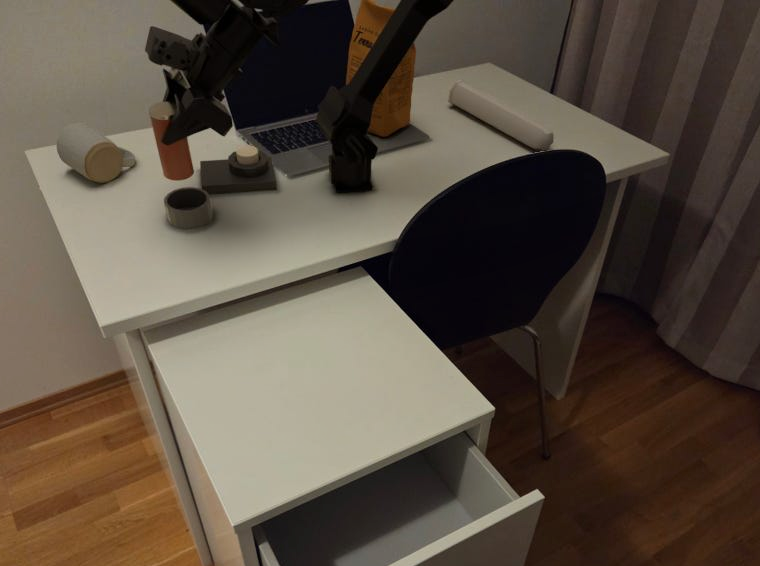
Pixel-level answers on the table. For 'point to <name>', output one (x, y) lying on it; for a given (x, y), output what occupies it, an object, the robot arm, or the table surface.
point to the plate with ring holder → (237, 175)
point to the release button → (247, 155)
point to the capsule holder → (188, 208)
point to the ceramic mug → (92, 153)
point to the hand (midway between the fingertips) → (160, 135)
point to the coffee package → (397, 93)
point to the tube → (501, 116)
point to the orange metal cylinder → (176, 154)
